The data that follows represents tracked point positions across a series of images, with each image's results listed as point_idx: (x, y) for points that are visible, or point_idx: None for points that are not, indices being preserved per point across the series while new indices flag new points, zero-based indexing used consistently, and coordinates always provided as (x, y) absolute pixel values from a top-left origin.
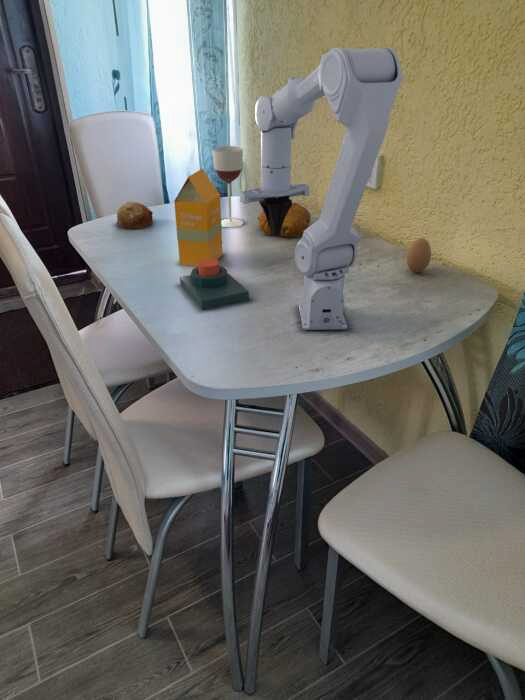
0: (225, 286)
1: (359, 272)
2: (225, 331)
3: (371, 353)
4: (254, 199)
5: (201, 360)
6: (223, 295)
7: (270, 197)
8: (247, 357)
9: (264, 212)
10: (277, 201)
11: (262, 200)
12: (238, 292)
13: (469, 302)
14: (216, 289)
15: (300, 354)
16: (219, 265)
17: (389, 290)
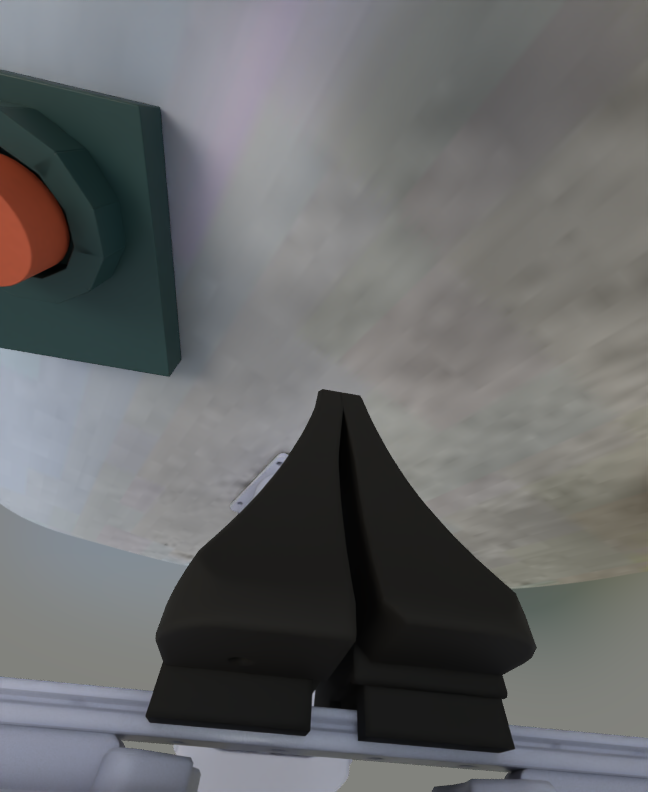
0: (100, 302)
1: (598, 407)
2: (75, 437)
3: None
4: (3, 728)
5: (13, 478)
6: (78, 356)
7: (241, 744)
8: (99, 505)
9: (268, 484)
10: (335, 679)
11: (136, 702)
12: (134, 365)
13: (550, 572)
14: (60, 305)
15: (187, 533)
16: (42, 259)
17: (515, 497)
